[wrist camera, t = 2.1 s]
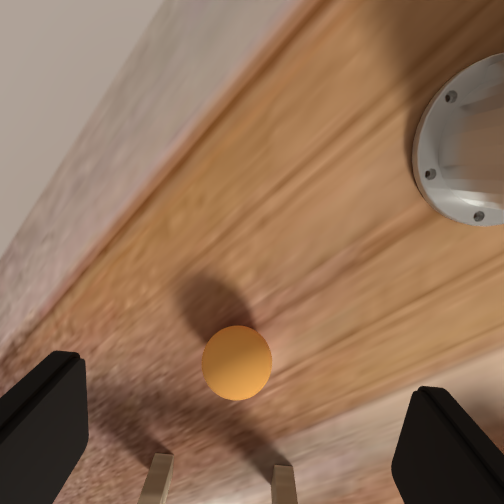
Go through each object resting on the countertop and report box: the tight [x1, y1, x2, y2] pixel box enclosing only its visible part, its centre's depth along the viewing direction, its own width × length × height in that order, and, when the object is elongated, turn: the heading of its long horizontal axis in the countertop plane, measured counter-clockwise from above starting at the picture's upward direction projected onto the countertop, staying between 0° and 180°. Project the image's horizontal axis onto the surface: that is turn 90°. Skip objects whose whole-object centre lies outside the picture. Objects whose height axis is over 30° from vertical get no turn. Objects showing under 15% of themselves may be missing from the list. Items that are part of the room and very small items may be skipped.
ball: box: [202, 325, 272, 400], centre depth 25 cm, size 6×6×6 cm
